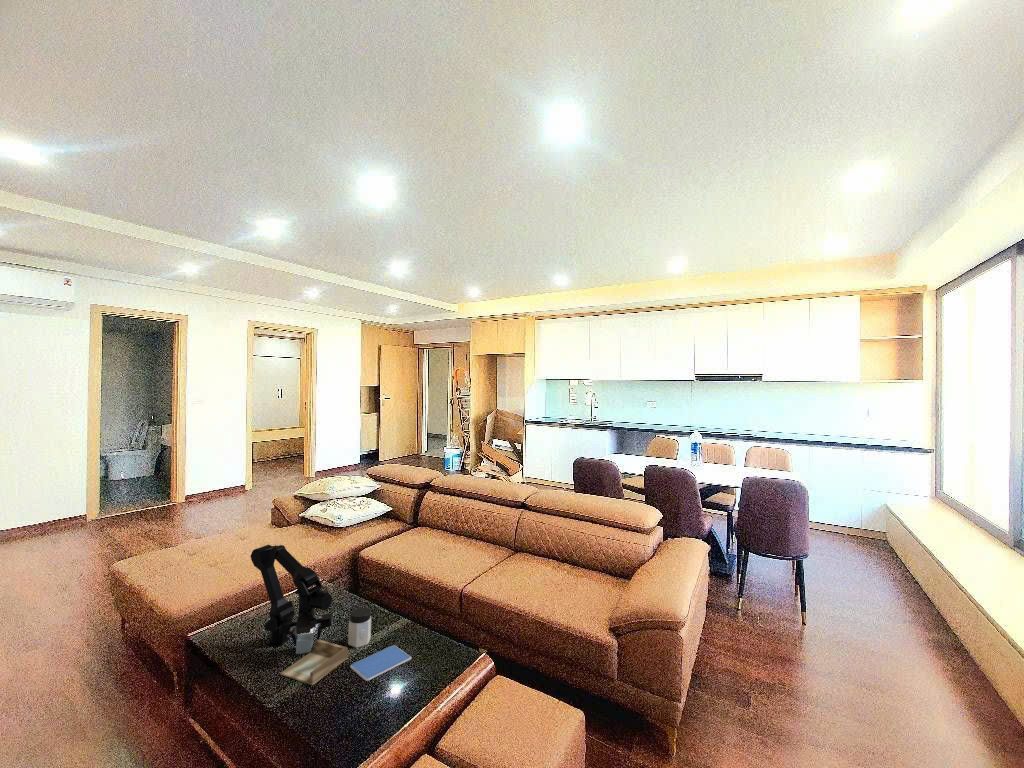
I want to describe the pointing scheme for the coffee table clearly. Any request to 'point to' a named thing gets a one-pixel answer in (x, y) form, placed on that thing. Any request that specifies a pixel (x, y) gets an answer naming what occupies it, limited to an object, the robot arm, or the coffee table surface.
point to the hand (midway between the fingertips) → (307, 644)
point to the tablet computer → (380, 662)
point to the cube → (304, 643)
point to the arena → (317, 662)
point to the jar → (359, 627)
